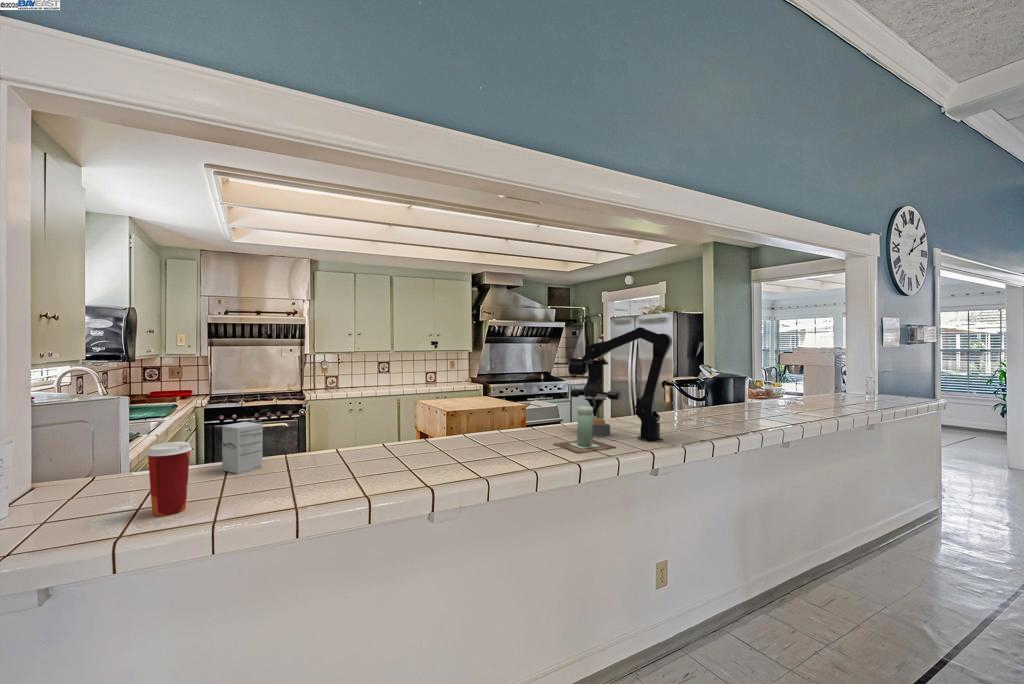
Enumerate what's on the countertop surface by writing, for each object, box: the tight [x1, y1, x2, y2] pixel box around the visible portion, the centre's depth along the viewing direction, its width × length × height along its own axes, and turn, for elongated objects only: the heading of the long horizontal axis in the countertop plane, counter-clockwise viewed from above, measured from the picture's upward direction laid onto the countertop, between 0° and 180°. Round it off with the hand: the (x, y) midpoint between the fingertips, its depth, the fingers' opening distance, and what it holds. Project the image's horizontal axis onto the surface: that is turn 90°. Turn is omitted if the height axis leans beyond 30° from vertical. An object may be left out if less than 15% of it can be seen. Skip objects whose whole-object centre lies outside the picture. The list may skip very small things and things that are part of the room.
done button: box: [592, 417, 606, 426], centre depth 174 cm, size 5×5×2 cm
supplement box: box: [221, 421, 264, 475], centre depth 125 cm, size 7×7×13 cm
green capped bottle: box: [576, 405, 593, 446], centre depth 154 cm, size 5×5×13 cm
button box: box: [592, 423, 611, 437], centre depth 174 cm, size 8×8×4 cm
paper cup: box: [145, 441, 193, 517], centre depth 95 cm, size 8×8×14 cm
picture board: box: [553, 439, 617, 454], centre depth 154 cm, size 16×14×1 cm
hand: (595, 416), depth 174 cm, fingers closed
